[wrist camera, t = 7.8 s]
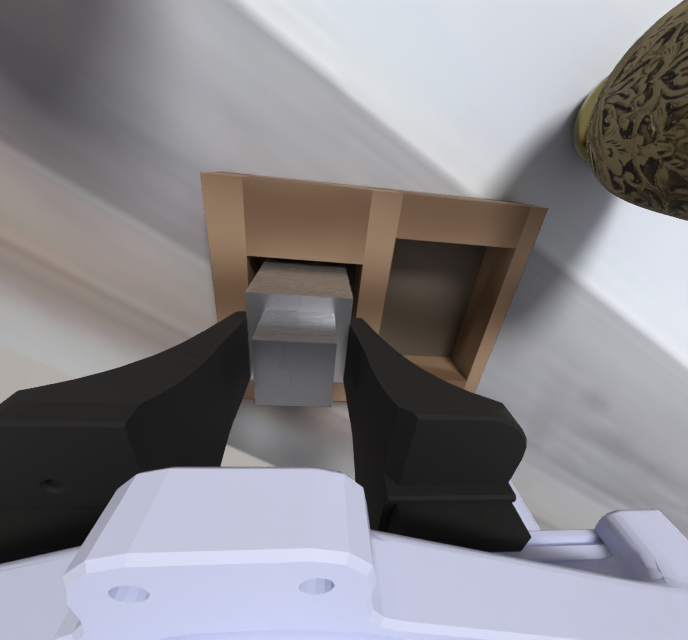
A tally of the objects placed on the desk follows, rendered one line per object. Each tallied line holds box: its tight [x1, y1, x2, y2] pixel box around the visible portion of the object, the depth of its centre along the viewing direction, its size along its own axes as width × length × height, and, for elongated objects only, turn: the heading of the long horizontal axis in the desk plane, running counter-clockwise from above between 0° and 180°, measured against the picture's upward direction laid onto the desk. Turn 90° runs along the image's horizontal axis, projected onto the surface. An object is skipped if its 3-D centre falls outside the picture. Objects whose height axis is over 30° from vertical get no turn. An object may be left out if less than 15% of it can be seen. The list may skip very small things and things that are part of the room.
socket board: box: [200, 172, 548, 401], centre depth 15 cm, size 11×14×2 cm
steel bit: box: [245, 257, 353, 407], centre depth 12 cm, size 4×4×7 cm
